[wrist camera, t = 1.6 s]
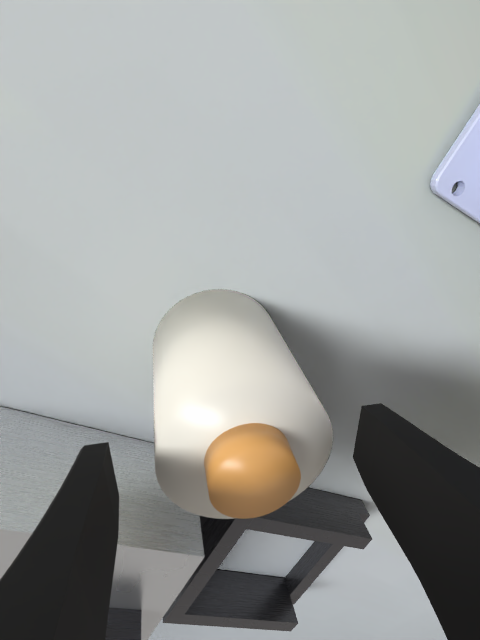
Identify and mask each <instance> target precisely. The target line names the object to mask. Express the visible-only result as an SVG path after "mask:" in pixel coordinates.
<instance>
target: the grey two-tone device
mask: <svg viewBox="0 0 480 640" xmlns="http://www.w3.org/2000/svg"><path fill="white" fill-rule="evenodd" d="M105 442H109V447H110V452H111V457H112V462H113V467H114V472H115V477H116V482H117V487H118V492H119V532H118V543H117V551H116V559H115V566H114V574H113V582H112V589H111V597H110V605H109V612H108V620H107V628H106V637H105V640H147V639H148V638H149V637H150V635H151V634H152V632H153V631H154V629H155V628H156V626H157V625H158V624H159V622H160V621H161V619H162V618H163V623H175V624H190V625H205V626H220V627H235V628H250V629H265V630H280V631H291V630H292V629H293V628H294V627H295V626H296V625H297V624H298V621H297V618H296V614H295V611H294V607H293V604H295V603H296V601H297V600H298V599H299V598H300V597H301V596H302V594H303V593H304V592H305V591H306V590H307V588H308V587H309V586H310V585H311V584H312V583H313V581H314V580H315V579H316V578H317V577H318V576H319V574H320V573H321V572H322V571H323V570H324V569H325V567H326V566H327V565H328V564H329V563H330V562H331V560H332V559H333V558H334V557H335V556H336V555H337V553H338V552H339V551H340V550H341V549H342V548H343V546H347V547H353V548H359V549H364V548H365V547H366V546H367V544H368V543H369V542H370V541H371V540H372V538H371V536H370V534H369V532H368V530H367V528H366V526H365V524H364V522H365V521H366V520H367V518H368V517H369V516H370V515H369V513H368V511H367V510H366V508H365V506H364V504H363V502H362V500H359V499H354V498H350V497H346V496H341V495H337V494H333V493H329V492H324V491H320V490H316V489H311V488H306V489H305V490H304V491H303V492H301V493H300V494H299V495H298V496H296V497H295V498H293V499H292V500H290V501H289V502H287V503H286V504H285V505H283V506H282V507H280V508H279V509H277V510H275V511H273V512H271V513H269V514H266V515H263V516H260V517H256V518H248V519H239V518H234V519H217V518H209V517H204V516H200V515H196V514H193V513H191V512H188V511H186V510H184V509H182V508H180V507H179V506H178V505H176V504H175V503H173V502H172V501H171V500H170V499H169V498H168V497H167V496H166V495H165V493H164V492H163V491H162V489H161V487H160V485H159V483H158V481H157V477H156V473H155V453H154V443H150V442H146V441H142V440H137V439H133V438H129V437H125V436H121V435H117V434H113V433H109V432H104V431H100V430H96V429H92V428H88V427H84V426H80V425H75V424H71V423H67V422H63V421H59V420H55V419H51V418H46V417H42V416H38V415H34V414H30V413H26V412H22V411H18V410H13V409H9V408H5V407H1V406H0V579H1V578H2V576H3V575H4V574H5V572H6V571H7V569H8V568H9V567H10V565H11V564H12V562H13V561H14V560H15V558H16V557H17V555H18V554H19V552H20V551H21V549H22V548H23V546H24V545H25V543H26V542H27V540H28V539H29V537H30V536H31V534H32V533H33V531H34V530H35V528H36V527H37V525H38V524H39V522H40V521H41V519H42V518H43V516H44V514H45V513H46V511H47V509H48V508H49V506H50V504H51V503H52V501H53V499H54V498H55V496H56V494H57V493H58V491H59V489H60V487H61V486H62V484H63V482H64V480H65V478H66V477H67V475H68V473H69V471H70V469H71V467H72V465H73V463H74V462H75V460H76V458H77V456H78V454H79V452H80V449H81V448H82V447H83V446H84V445H91V444H98V443H105ZM245 529H250V530H255V531H261V532H267V533H273V534H278V535H284V536H290V537H296V538H301V539H307V540H313V541H315V542H314V543H313V544H312V546H311V547H310V548H309V549H308V551H307V552H306V553H305V554H304V556H303V557H302V558H301V559H300V560H299V562H298V563H297V564H296V565H295V567H294V568H293V569H292V570H291V571H290V573H289V574H288V575H287V576H286V578H279V577H271V576H264V575H256V574H248V573H240V572H232V571H224V570H217V568H218V567H219V566H220V564H221V563H222V561H223V560H224V559H225V557H226V556H227V554H228V553H229V552H230V550H231V549H232V547H233V546H234V545H235V543H236V542H237V540H238V539H239V538H240V536H241V535H242V533H243V532H244V531H245Z"/></svg>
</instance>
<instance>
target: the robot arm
mask: <svg viewBox="0 0 480 640" xmlns="http://www.w3.org/2000/svg"><path fill="white" fill-rule="evenodd" d="M456 182H458V187H457V189H456V191H454V192H453V193H452V187H453V185H454V184H455V183H456ZM430 186H431V190H432V191H433V192H434V193H435V194H436V195H438V196H439V197H441V198H442V199H444V200H445V201H447V202H448V203H450V204H451V205H453V206H454V207H456V208H457V209H459V210H460V211H462V212H463V213H465V214H466V215H468V216H469V217H471V218H472V219H473V220H475V221H476V222H478V223H479V224H480V104H479V106H478V107H477V109H476V110H475V112H474V113H473V115H472V116H471V118H470V119H469V121H468V122H467V124H466V126H465V127H464V129H463V130H462V132H461V133H460V135H459V136H458V138H457V139H456V141H455V142H454V144H453V145H452V147H451V148H450V150H449V151H448V153H447V154H446V156H445V157H444V159H443V160H442V162H441V163H440V165H439V166H438V168H437V169H436V171H435V172H434V174H433V176H432V178H431V183H430ZM353 459H354V461H355V463H356V466H357V468H358V471H359V473H360V475H361V478H362V480H363V482H364V484H365V486H366V488H367V491H368V492H369V494H370V496H371V498H372V499H373V501H374V503H375V504H376V506H377V508H378V510H379V511H380V513H381V515H382V516H383V518H384V520H385V521H386V523H387V525H388V526H389V528H390V530H391V531H392V533H393V535H394V536H395V538H396V540H397V542H398V543H399V545H400V547H401V548H402V550H403V552H404V553H405V555H406V557H407V558H408V560H409V562H410V563H411V565H412V567H413V569H414V571H415V573H416V574H417V576H418V578H419V580H420V582H421V584H422V586H423V588H424V590H425V592H426V594H427V596H428V598H429V600H430V603H431V605H432V607H433V609H434V611H435V613H436V615H437V617H438V619H439V621H440V624H441V626H442V628H443V630H444V633H445V635H446V637H447V639H448V640H480V468H479V467H477V466H476V465H474V464H472V463H471V462H469V461H467V460H466V459H464V458H463V457H461V456H459V455H458V454H456V453H455V452H453V451H452V450H450V449H448V448H447V447H445V446H444V445H442V444H441V443H439V442H438V441H436V440H435V439H433V438H432V437H430V436H429V435H427V434H426V433H424V432H423V431H421V430H420V429H418V428H417V427H416V426H414V425H413V424H411V423H410V422H408V421H407V420H405V419H404V418H402V417H401V416H399V415H398V414H396V413H395V412H393V411H392V410H390V409H389V408H387V407H386V406H384V405H383V404H374V405H367V406H362V408H361V414H360V420H359V425H358V431H357V437H356V443H355V448H354V454H353ZM118 532H119V492H118V487H117V482H116V477H115V472H114V467H113V462H112V457H111V452H110V447H109V442H105V443H98V444H91V445H84V446H83V447H82V448H81V449H80V452H79V454H78V456H77V458H76V460H75V462H74V463H73V465H72V467H71V469H70V471H69V473H68V475H67V477H66V478H65V480H64V482H63V484H62V486H61V487H60V489H59V491H58V493H57V494H56V496H55V498H54V499H53V501H52V503H51V504H50V506H49V508H48V509H47V511H46V513H45V514H44V516H43V518H42V519H41V521H40V522H39V524H38V525H37V527H36V528H35V530H34V531H33V533H32V534H31V536H30V537H29V539H28V540H27V542H26V543H25V545H24V546H23V548H22V549H21V551H20V552H19V554H18V555H17V557H16V558H15V560H14V561H13V562H12V564H11V565H10V567H9V568H8V569H7V571H6V572H5V574H4V575H3V576H2V578H1V579H0V640H105V637H106V628H107V620H108V612H109V605H110V597H111V589H112V582H113V574H114V566H115V559H116V551H117V543H118Z"/></svg>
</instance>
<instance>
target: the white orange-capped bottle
mask: <svg viewBox="0 0 480 640" xmlns="http://www.w3.org/2000/svg"><path fill="white" fill-rule="evenodd" d="M153 390H154V453H155V473H156V477H157V481H158V483H159V485H160V487H161V489H162V491H163V492H164V493H165V495H166V496H167V497H168V498H169V499H170V500H171V501H172V502H173V503H175V504H176V505H178V506H179V507H180V508H182V509H184V510H186V511H188V512H191V513H193V514H196V515H200V516H204V517H209V518H217V519H234V518H239V519H248V518H256V517H260V516H263V515H266V514H269V513H271V512H273V511H275V510H277V509H279V508H280V507H282V506H283V505H285V504H286V503H287V502H289V501H290V500H292V499H293V498H295V497H296V496H298V495H299V494H300V493H301V492H303V491H304V490H305V489H306V488H307V487H308V486H309V485H311V484H312V483H313V481H314V480H315V479H316V478H317V477H318V476H319V474H320V473H321V471H322V470H323V468H324V467H325V465H326V463H327V461H328V459H329V456H330V453H331V449H332V444H333V430H332V424H331V421H330V418H329V416H328V414H327V413H326V411H325V409H324V407H323V406H322V404H321V402H320V401H319V399H318V397H317V396H316V394H315V392H314V390H313V389H312V387H311V385H310V384H309V382H308V380H307V379H306V377H305V375H304V373H303V372H302V370H301V368H300V367H299V365H298V363H297V362H296V360H295V358H294V356H293V355H292V353H291V351H290V350H289V348H288V346H287V345H286V343H285V341H284V339H283V338H282V336H281V334H280V333H279V331H278V329H277V328H276V326H275V324H274V322H273V321H272V319H271V317H270V316H269V314H268V312H267V311H266V310H265V309H264V307H263V306H262V305H261V304H260V303H258V302H257V301H256V300H254V299H253V298H251V297H249V296H247V295H245V294H243V293H240V292H237V291H232V290H224V289H214V290H207V291H202V292H199V293H195V294H193V295H190V296H188V297H186V298H184V299H183V300H181V301H179V302H178V303H177V304H175V305H174V306H173V307H172V308H171V309H170V310H169V311H168V312H167V313H166V314H165V315H164V317H163V318H162V320H161V321H160V323H159V325H158V327H157V329H156V332H155V335H154V340H153Z"/></svg>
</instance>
